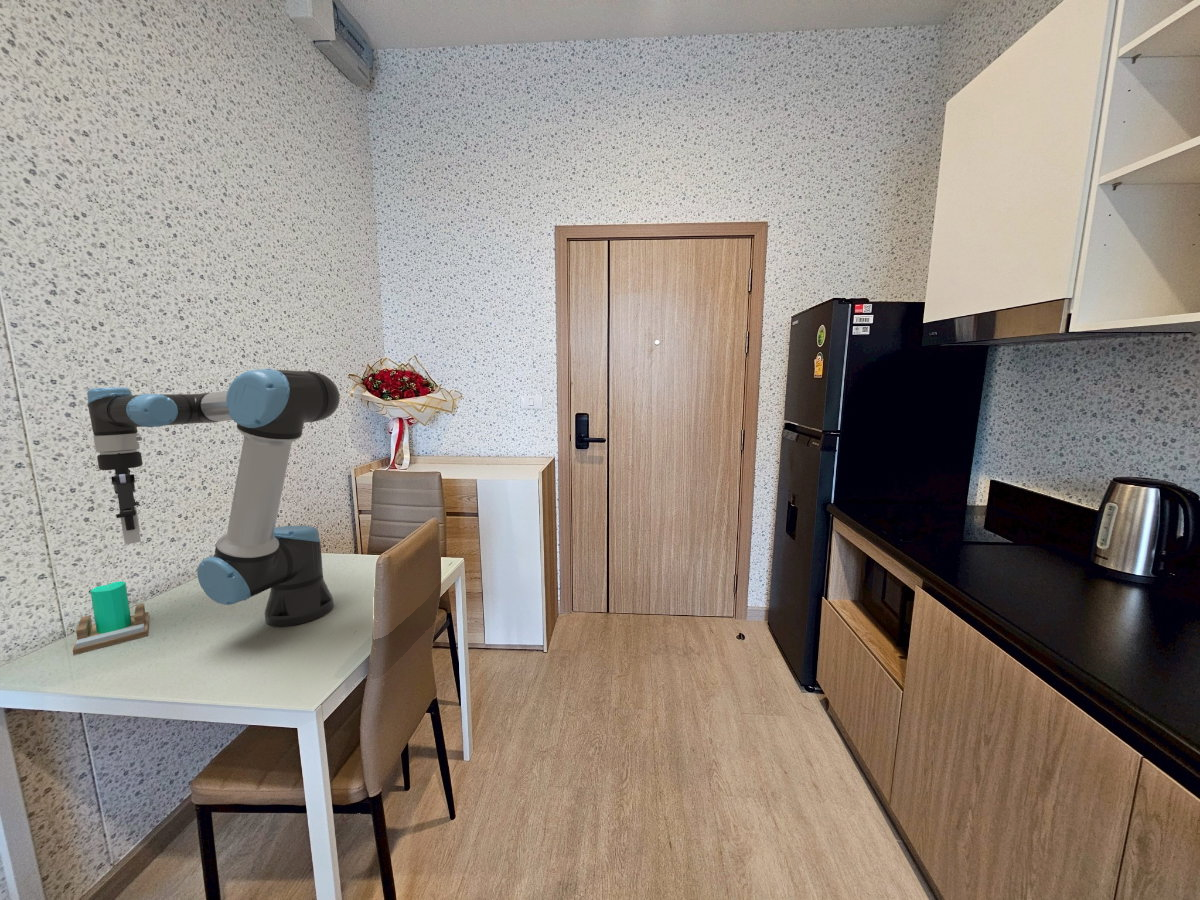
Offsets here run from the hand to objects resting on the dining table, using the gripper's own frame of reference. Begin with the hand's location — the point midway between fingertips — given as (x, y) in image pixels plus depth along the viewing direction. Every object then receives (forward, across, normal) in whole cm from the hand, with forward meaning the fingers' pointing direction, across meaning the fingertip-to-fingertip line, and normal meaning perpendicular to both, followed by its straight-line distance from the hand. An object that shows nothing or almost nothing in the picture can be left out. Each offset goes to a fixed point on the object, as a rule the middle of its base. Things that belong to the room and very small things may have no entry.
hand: (132, 537), depth 117 cm
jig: (+22, -1, +6) cm, 23 cm away
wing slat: (+21, -6, +6) cm, 23 cm away
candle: (+21, 0, +6) cm, 22 cm away
